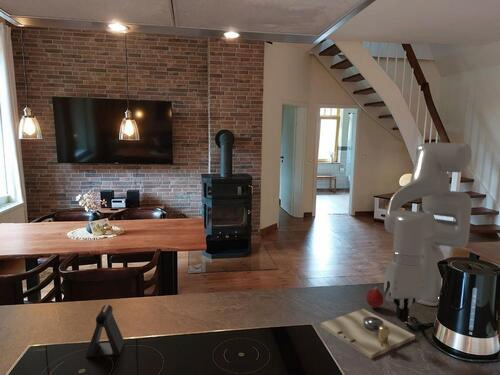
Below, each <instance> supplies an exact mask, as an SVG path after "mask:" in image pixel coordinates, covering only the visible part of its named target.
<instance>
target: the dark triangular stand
mask: <svg viewBox="0 0 500 375" xmlns="http://www.w3.org/2000/svg"><path fill="white" fill-rule="evenodd" d="M105 308H106V309H105ZM113 308H114V307H113V306H111V305H110V304H108V305H107V307H106V304H105V305H103V306H102V308H101V309H100V311H99V312H98V313H97V316H96V318H95V322H96V325H95V329H94V332H93V334H92V338H91V340H90V341H89V342H90V343H89V346H88V348H87V351H86V355H85V357H86V358H94V357H103V356H104V357H109V356H120V355H121V352H122V350H123V346H124V344H125V340H124V337H123V336H122V333H121V331H120V328H119V326H118V323H117V322H116V319H115V317H114V313H113V310H114V309H113ZM104 310H105V311H104ZM103 328H104V331H105V334H106V336H107V340H108V342H102V343H101V342H100V340H101V335H102V332H103Z"/></svg>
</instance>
